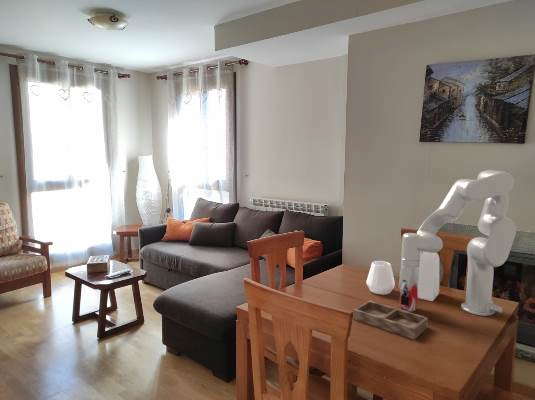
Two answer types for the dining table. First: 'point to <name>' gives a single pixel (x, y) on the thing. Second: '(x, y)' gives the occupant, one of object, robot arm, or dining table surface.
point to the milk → (428, 276)
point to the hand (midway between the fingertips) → (408, 302)
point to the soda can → (411, 299)
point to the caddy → (391, 319)
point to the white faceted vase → (380, 278)
